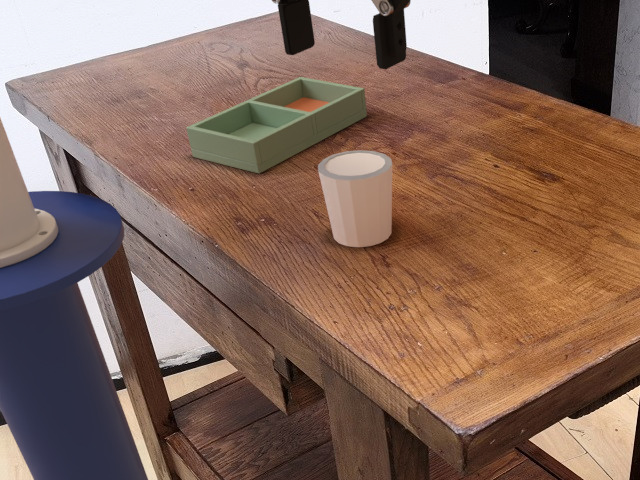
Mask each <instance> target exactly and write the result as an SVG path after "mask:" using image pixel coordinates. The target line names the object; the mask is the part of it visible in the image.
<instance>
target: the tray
mask: <svg viewBox="0 0 640 480" xmlns="http://www.w3.org/2000/svg"><path fill="white" fill-rule="evenodd" d="M367 116H368V112H367V101H366V90H365V88H364V87H358V86H354V85H348V84H342V83H337V82H332V81H325V80H320V79H314V78H309V77H303V76H299V77H296V78H294V79H292V80H290V81H288V82H285V83H283V84H280V85H278V86H277V87H274V88H272V89H270V90H267V91H265V92H263V93H261V94H257V95H256V96H253V97H251V98H249V99H246V100H244V101H242V102H240V103H238V104H236V105H234V106H231V107H229V108H227V109H224V110H222V111H220V112H218V113H215V114H213V115H211V116H208V117H207V118H204V119H201V120H199V121H198V122H196V123H193V124H191V125H189V126H186V127H185V129H186V134H187V138H188V141H189V146H190V149H191V154H192V157H193V158H196V159H200V160H204V161H208V162H211V163H215V164H220V165H223V166H227V167H231V168H235V169H238V170H243V171H247V172H251V173H255V174H261V173H264V172H265V171H267V170H269V169H271V168H273V167H275V166H277V165H279V164H280V163H282V162H285V160H288V159H290V158H292V157H293V156H295V155H297V154H299V153H301V152H303V151H305V150H306V149H308V148H310V147H312V146H314V145H316V144H318V143H320V142H322V141H324V140H326V139H328V138H329V137H331V136H333V135H334V134H337V133H338V132H340V131H342V130H344V129H346V128H348V127H349V126H351V125H354V124H355V123H358V122H359V121H361V120H363V119H365V118H366V117H367Z"/></svg>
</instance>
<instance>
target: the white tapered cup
mask: <svg viewBox="0 0 640 480" xmlns="http://www.w3.org/2000/svg"><path fill="white" fill-rule="evenodd" d="M317 172H318V176H319V181H320V185H321V189H322V193H323V198H324V202H325V207H326V211H327V215H328V219H329V220H328V221H329V224H330V228H331V231H332V237H333V240H335V241H336V242H337V243H338V244H339V245H342V246H345V247H350V248H351V247H352V248H366V247H372V246H375V245H379V244H381V243H383V242H384V241H387V240H388V239H389V237H391V235H392V225H393V223H392V222H393V220H392V219H393V209H392V208H393V161H392V158H391V157H390V156H388V155H386V154H385V153H382V152H378V151H376V150H364V149H363V150H362V149H357V150H347V151H346V150H345V151H343V152H338V153H334V154H331V155H330V156H328V157H325V158H323V159H322V160H321V161H320V162H319V163H318V164H317Z"/></svg>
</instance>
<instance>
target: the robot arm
mask: <svg viewBox="0 0 640 480" xmlns="http://www.w3.org/2000/svg"><path fill="white" fill-rule="evenodd" d="M370 1H371V2H372V4H373V6H374V7H375V8H376V10H377V11H378V12H379V13H377V14H374V15H373V16H372V27H373V28H372V30H373V36H374V37H373V40H374V49H375V58H376V65H377V67H378V68H379V69H380V70H387V69H390V68H392V67H393V66H397V65H398V64H400V63H403V62H404V61H405V60H406V58H407V47H408V45H407V30H406V19H405V9H406V8H408V7H409V6H410V5H411V2H412V1H411V0H370ZM271 2H272V3H273V4H277V9H278V16H279V23H280V27H281V34H282V40H283V41H282V42H283V46H284V53H285V54H286V55H288V56H295V55H298V54H299V53H302V52H305V51H307V50H310V49H311V48H313V47H314V46H315V43H316V41H315V34H314V33H315V32H314V27H313V26H314V25H313V21H312V13H311V6H310V0H271ZM28 192H29V190H28V188H27V185H26V182H25V180H24V177H23V175H22V171H21V169H20V166H19V164H18V161H17V159H16V155H15V153H14V150H13V148H12V145H11V142H10V140H9V137H8V134H7V132H6V129H5V126H4V123H3V121H2V118H1V117H0V268H3V267H6V266H9V265H13V264H16V263H18V262H21V261H24V260H26V259H28V258H30V257H32V256H34V255H36V254H38V253H40V252H41V251H43V250H44V249H46V248H47V247H48V246H49V245H50V244H51V243H52V242H53V241H54V240H55V238H56V237H57V234H58V226H57V223H56V221H55V218H54V217H53V216H52V215H51V214H49V213H47V212H45V211H43V210H39V209H34V206H33V204H32V201H31V198H30V196H29V193H28Z"/></svg>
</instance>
